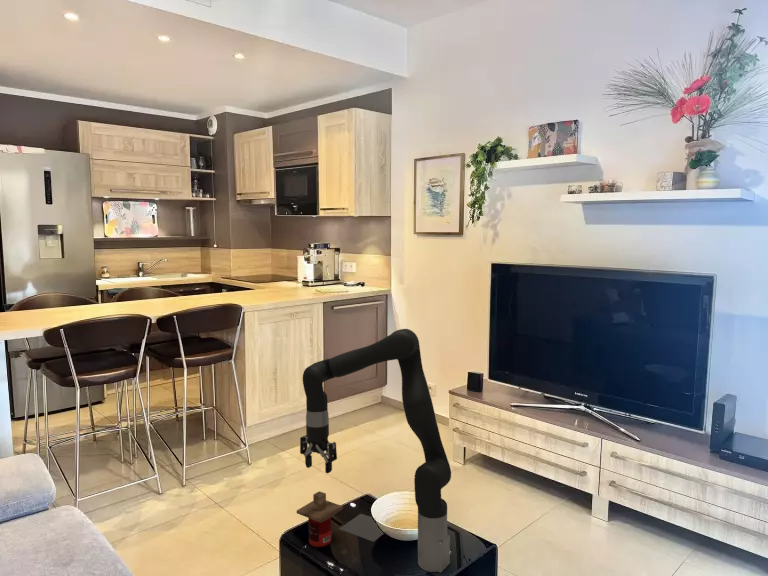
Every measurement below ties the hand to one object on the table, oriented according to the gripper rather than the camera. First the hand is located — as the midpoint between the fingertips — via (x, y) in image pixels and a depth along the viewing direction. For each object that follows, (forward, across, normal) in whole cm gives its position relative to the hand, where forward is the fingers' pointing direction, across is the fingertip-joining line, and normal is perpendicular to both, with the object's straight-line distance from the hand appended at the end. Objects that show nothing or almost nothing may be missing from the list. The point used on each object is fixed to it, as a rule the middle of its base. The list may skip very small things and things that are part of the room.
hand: (318, 469), depth 180 cm
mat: (+26, -8, -16) cm, 31 cm away
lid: (+14, 0, 0) cm, 15 cm away
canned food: (+26, 0, 0) cm, 26 cm away
